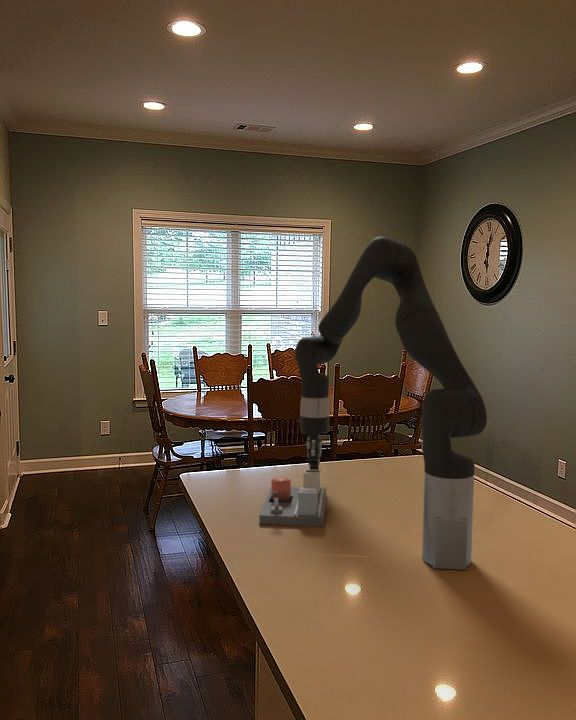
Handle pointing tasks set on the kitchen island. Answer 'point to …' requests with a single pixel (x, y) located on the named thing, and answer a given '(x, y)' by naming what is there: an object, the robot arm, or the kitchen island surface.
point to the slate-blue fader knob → (307, 501)
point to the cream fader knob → (312, 479)
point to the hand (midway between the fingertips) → (314, 479)
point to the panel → (291, 510)
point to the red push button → (281, 488)
